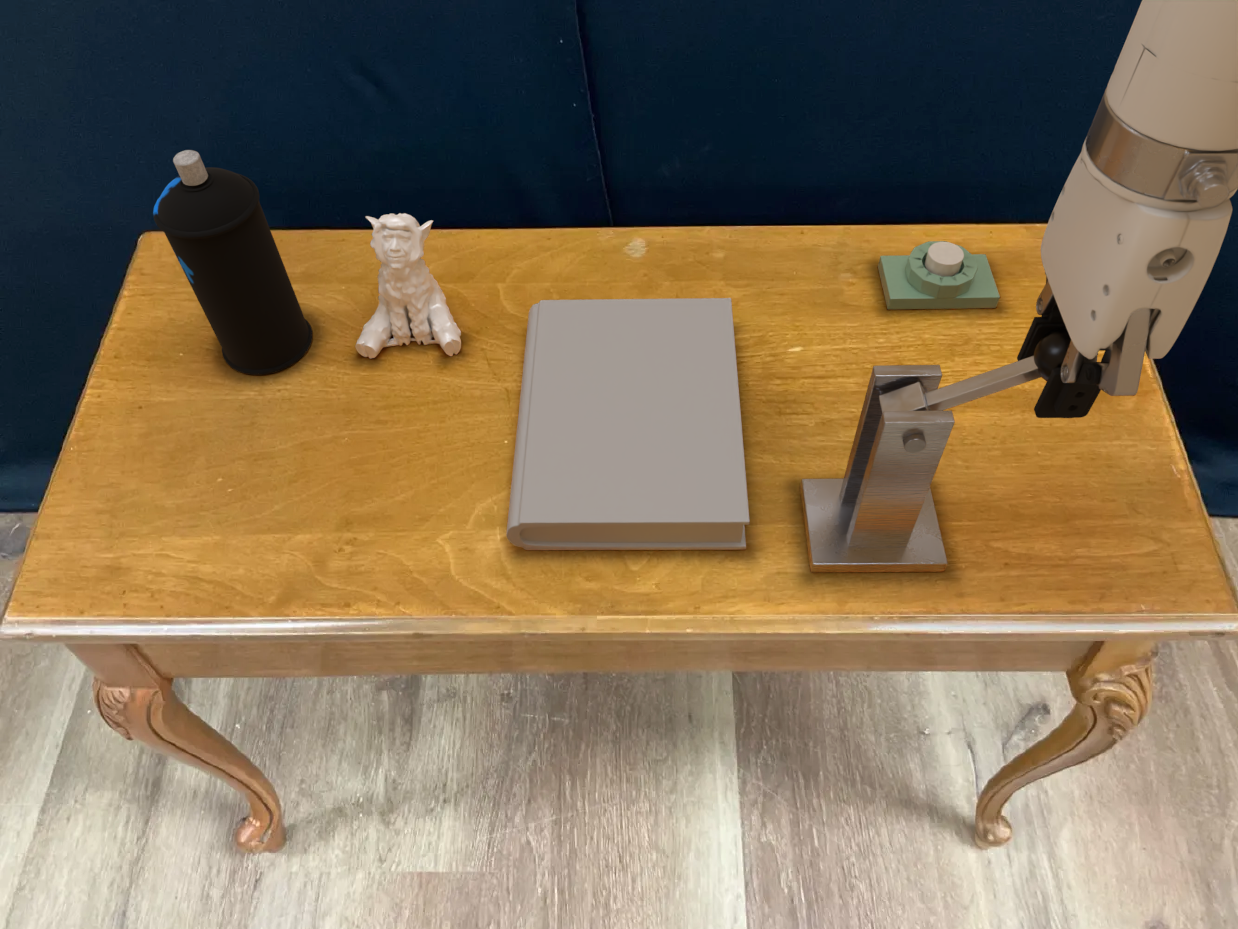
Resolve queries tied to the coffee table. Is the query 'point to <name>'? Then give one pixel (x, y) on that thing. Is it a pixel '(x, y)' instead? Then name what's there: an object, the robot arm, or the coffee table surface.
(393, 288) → the sitting furry creature
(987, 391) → the lever with ball knob
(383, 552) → the coffee table surface
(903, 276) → the green push button base
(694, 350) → the book
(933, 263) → the beige push button
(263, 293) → the aerosol can
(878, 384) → the lever stand
